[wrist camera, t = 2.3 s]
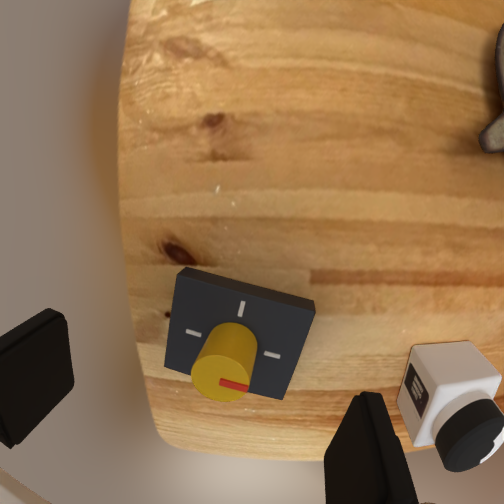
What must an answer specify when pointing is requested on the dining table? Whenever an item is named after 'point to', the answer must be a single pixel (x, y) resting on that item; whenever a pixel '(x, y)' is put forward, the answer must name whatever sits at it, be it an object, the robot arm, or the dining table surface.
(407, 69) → the dining table surface
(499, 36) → the oil lamp
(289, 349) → the dial base
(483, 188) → the dining table surface
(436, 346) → the container
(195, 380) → the yellow dial knob
